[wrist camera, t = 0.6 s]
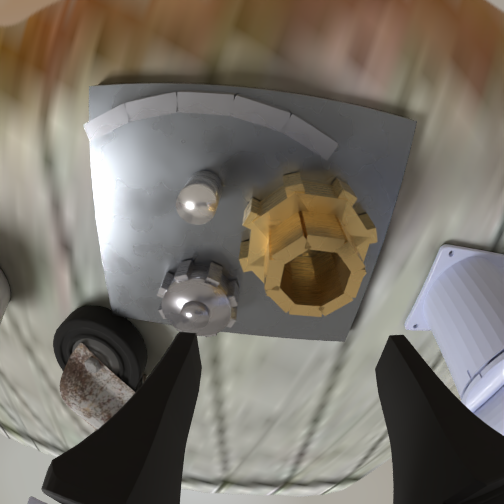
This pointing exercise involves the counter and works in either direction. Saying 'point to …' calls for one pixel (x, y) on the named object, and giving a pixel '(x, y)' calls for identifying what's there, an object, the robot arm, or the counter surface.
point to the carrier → (225, 195)
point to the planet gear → (307, 245)
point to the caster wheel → (98, 362)
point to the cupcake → (4, 294)
